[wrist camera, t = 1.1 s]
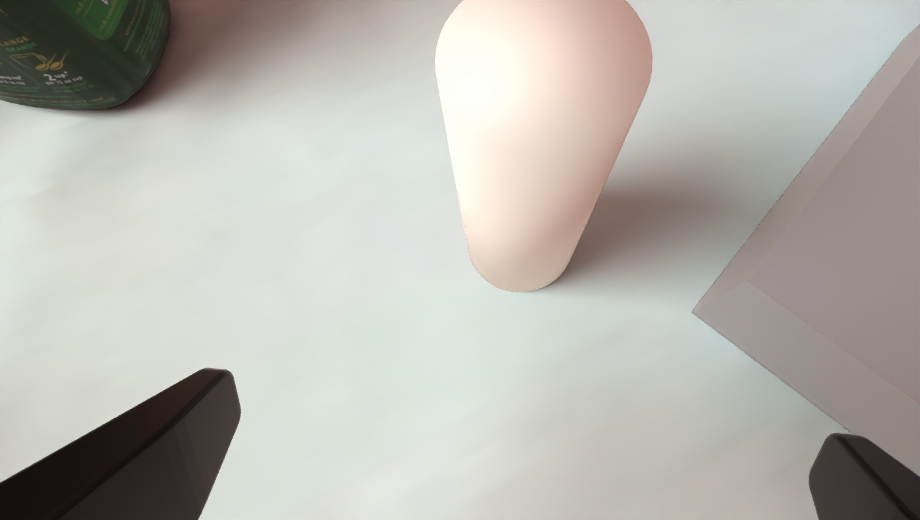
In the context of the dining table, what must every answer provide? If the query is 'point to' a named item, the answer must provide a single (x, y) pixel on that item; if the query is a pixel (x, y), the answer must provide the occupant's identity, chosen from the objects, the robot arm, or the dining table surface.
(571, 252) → the pink cylinder peg
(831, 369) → the well block
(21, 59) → the coffee jar
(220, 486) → the dining table surface
